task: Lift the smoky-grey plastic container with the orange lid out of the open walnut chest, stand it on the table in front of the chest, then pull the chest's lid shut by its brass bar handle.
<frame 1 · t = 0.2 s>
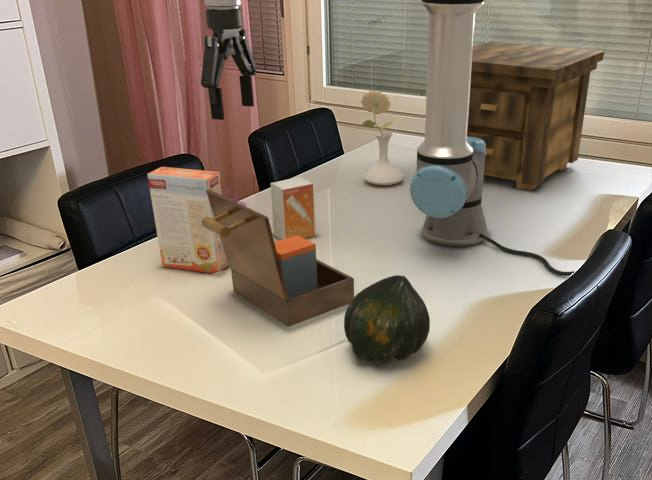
hand: (233, 112, 162), 28 cm above the table, tool pointing down, fingers open, 13 cm apart
toy cauldron: (225, 236, 174), on the table
flower in vase: (381, 182, 208), on the table
container: (292, 296, 143), point 1 cm above the table, touching chest
chest lid: (234, 250, 130), point 14 cm above the table, hinge at 100.0°
cracker box: (196, 266, 158), on the table
small box: (294, 236, 173), on the table
chest: (293, 299, 144), on the table
wooden drawer cabinet: (509, 172, 216), on the table
squash: (386, 352, 127), on the table
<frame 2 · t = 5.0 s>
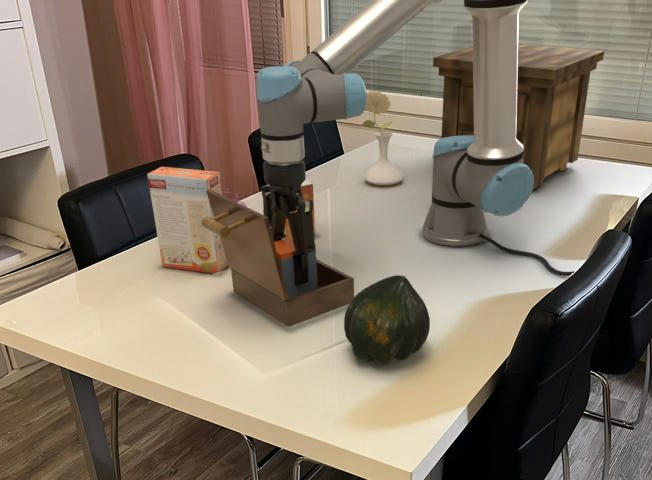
hand: (291, 277, 141), 5 cm above the table, tool pointing down, fingers closed on container, 6 cm apart
container: (293, 296, 143), point 1 cm above the table, touching chest, gripper
everything else where it was.
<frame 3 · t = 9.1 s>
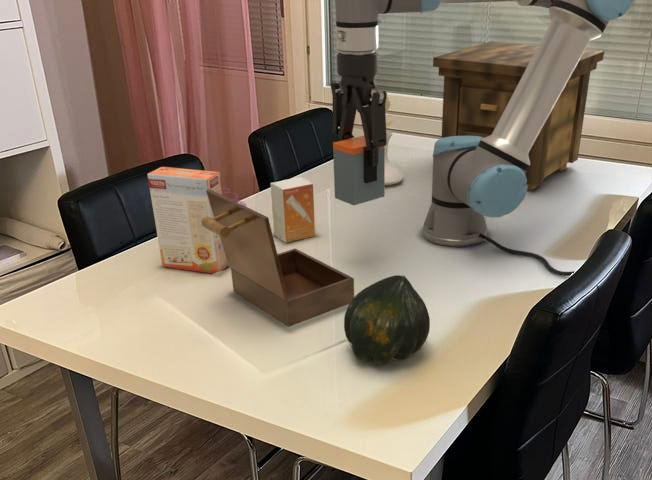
hand: (359, 177, 142), 21 cm above the table, tool pointing down, fingers closed on container, 6 cm apart
container: (359, 197, 144), point 17 cm above the table, touching gripper
everything else where it was.
when the fingers open (4 cm above the table, at t = 13.2 s): container stays where it is, on the table.
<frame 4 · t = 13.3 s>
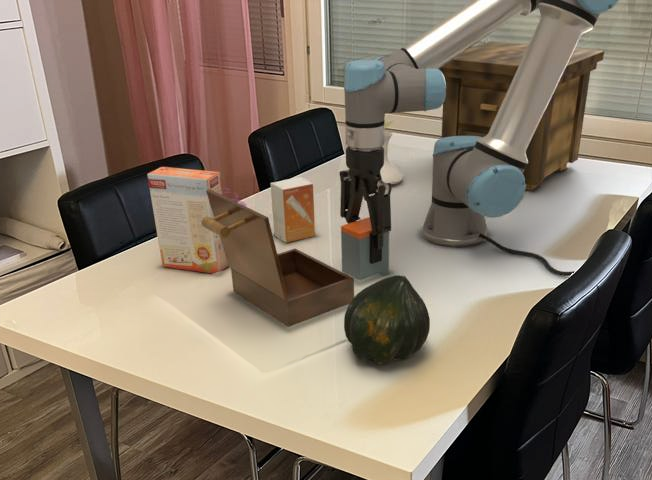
hand: (365, 256, 152), 4 cm above the table, tool pointing down, fingers open, 6 cm apart
container: (365, 273, 154), on the table
everything else where it was.
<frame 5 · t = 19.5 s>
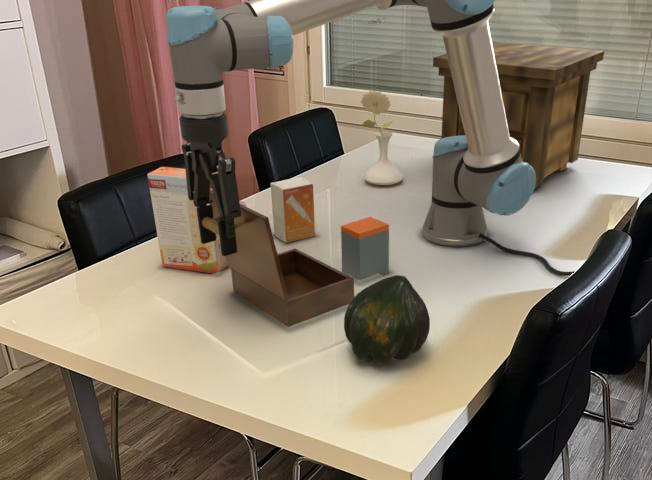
hand: (219, 247, 128), 15 cm above the table, tool pointing down, fingers closed on chest lid, 6 cm apart
chest lid: (234, 250, 130), point 14 cm above the table, hinge at 100.0°, touching gripper
everything else where it was.
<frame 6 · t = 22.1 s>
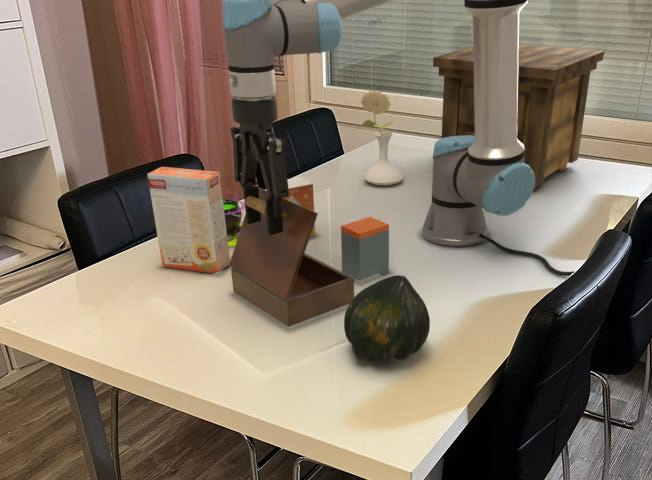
hand: (264, 227, 132), 17 cm above the table, tool pointing down, fingers closed on chest lid, 6 cm apart
chest lid: (259, 238, 133), point 15 cm above the table, hinge at 63.0°, touching gripper
everything else where it was.
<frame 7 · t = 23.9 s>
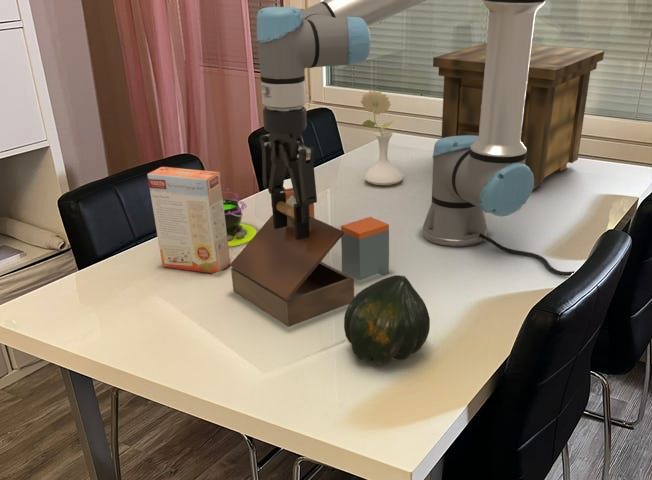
hand: (291, 232, 137), 14 cm above the table, tool pointing down, fingers closed on chest lid, 6 cm apart
chest lid: (277, 240, 135), point 13 cm above the table, hinge at 35.6°, touching gripper
everything else where it was.
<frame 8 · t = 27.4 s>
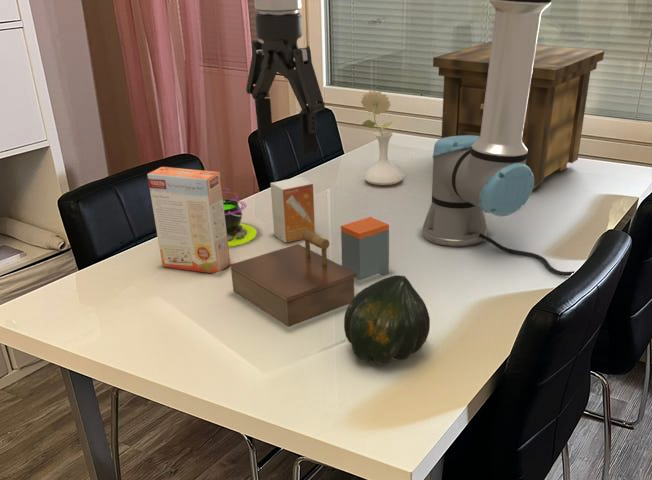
hand: (286, 143, 128), 31 cm above the table, tool pointing down, fingers open, 13 cm apart
chest lid: (292, 257, 139), point 9 cm above the table, hinge at -0.1°
everything else where it was.
at the end: container inside the target area (0.2 cm from its centre), on the table; container tilted 0°; chest lid at +0° (first picture: +100°) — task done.
